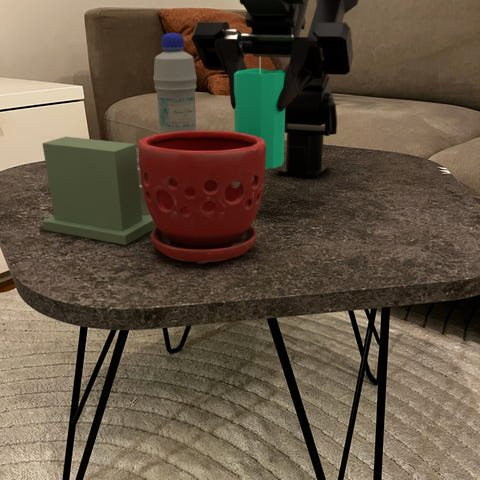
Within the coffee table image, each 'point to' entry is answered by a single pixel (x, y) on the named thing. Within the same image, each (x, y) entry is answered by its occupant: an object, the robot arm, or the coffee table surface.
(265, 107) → the candle
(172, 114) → the bottle
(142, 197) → the green tombstone shape
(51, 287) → the coffee table surface
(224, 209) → the flower pot
